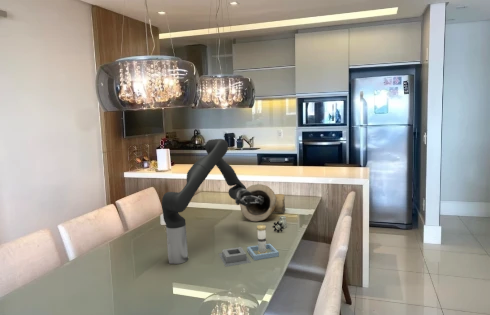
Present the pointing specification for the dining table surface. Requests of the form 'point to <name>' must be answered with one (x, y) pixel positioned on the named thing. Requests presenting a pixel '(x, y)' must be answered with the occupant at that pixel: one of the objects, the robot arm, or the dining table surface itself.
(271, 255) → the parts tray
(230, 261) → the block
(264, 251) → the capped white cylinder
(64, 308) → the dining table surface
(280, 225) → the valve
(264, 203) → the pipe
